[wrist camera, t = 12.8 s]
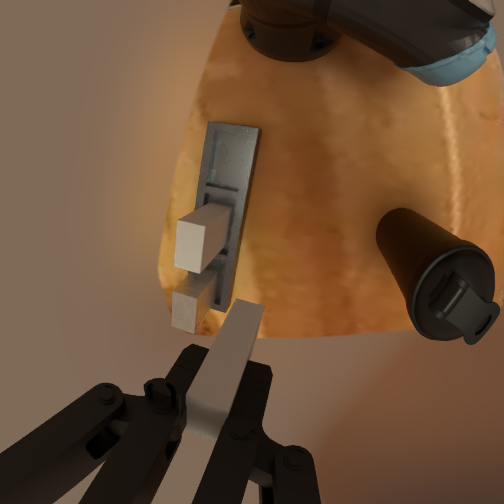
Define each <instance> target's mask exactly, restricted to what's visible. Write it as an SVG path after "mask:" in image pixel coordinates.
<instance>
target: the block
mask: <svg viewBox="0 0 504 504" xmlns="http://www.w3.org/2000/svg"><path fill="white" fill-rule="evenodd" d="M233 210H234V206H233V205H228V204H224V203H219V202H214V201H212V202H210V203H208V204H206V205H204V206H202V207H201V208H199V209H197V210H195V211H193V212H191V213H190V214H188V215H186V216H184V217H182V218H180V219H179V220H178V221H177V232H176V244H175V259H174V266H175V267H178V268H181V269H185V270H188V271H192V272H195V273H198V274H200V273H201V272H202V271H203V270H204V269H205V267H206V266H207V265H208V264H209V263H210V262H211V261H212V260H213V258H214V257H215V256H216V255H217V254H218V253H219V252H220V251H221V250H222V248H223V247H224V246H225V245H226V244H227V243H228V240H229V234H230V228H231V222H232V216H233Z"/></svg>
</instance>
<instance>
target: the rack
mask: <svg viewBox="0 0 504 504" xmlns="http://www.w3.org/2000/svg"><path fill="white" fill-rule="evenodd" d="M261 132H262V130H261V129H259V128H253V127H246V126H240V125H233V124H225V123H217V122H208V126H207V131H206V137H205V143H204V149H203V156H202V162H201V169H200V175H199V183H198V190H197V197H196V205H195V209H194V211H195V210H197V209H199V208H201V207H202V206H204V205H206V204H208V203H210V202H212V201H214V202H219V203H224V204H228V205H233V206H234V210H233V216H232V222H231V228H230V234H229V240H228V243H227V244H226V245H225V246H224V247H223V248H222V250H221V251H220V252H219V253H218V254H217V255H216V256H215V257H214V258H213V260H212V261H211V262H210V263H209V264H208V265H207V266H206V267H205V269H204V270H203V271H202V272H201V273H200V274H198V273H195V272H192V271H189V272H188V275H187V277H186V278H185V279H184V280H183V281H182V282H181V283H180V284H179V285H178V286H177V287H176V288H175V289H174V290H173V296H172V326H173V327H176V328H179V329H181V330H184V331H187V332H190V333H193V334H195V332H196V330H197V329H198V327H199V326H200V324H201V323H202V321H203V319H204V318H205V316H206V315H207V313H208V312H209V310H210V308H211V309H214V310H218V311H221V312H224V313H226V312H227V310H228V308H229V306H230V302H231V297H232V291H233V285H234V279H235V273H236V268H237V262H238V256H239V251H240V245H241V240H242V234H243V228H244V223H245V217H246V212H247V207H248V201H249V196H250V190H251V185H252V180H253V174H254V169H255V164H256V158H257V153H258V148H259V143H260V138H261Z"/></svg>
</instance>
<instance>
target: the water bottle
mask: <svg viewBox="0 0 504 504" xmlns="http://www.w3.org/2000/svg"><path fill="white" fill-rule="evenodd" d="M376 241H377V245H378V247H379V249H380V251H381V253H382V255H383V256H384V258H385V260H386V262H387V264H388V266H389V268H390V270H391V272H392V274H393V275H394V277H395V279H396V281H397V283H398V285H399V288H400V290H401V292H402V294H403V296H404V298H405V300H406V307H407V311H408V314H409V317H410V319H411V321H412V323H413V325H414V327H415V328H416V330H417V331H418V332H419V333H420V334H421V335H422V336H424V337H426V338H428V339H431V340H439V341H451V340H455V339H458V338H460V337H462V336H463V337H464V340H465V342H466V343H467V344H469V345H473V344H476V343H477V342H478V341H479V340H480V339H481V338H482V337H483V336H484V335H485V333H486V332H487V331H488V330H489V328H490V327H491V326H492V325H493V323H494V322H495V320H496V319H497V317H498V315H499V313H500V307H499V305H498V304H497V303H495V302H492V301H493V297H494V291H495V272H494V267H493V264H492V262H491V260H490V258H489V256H488V255H487V254H486V253H485V252H484V251H483V250H482V249H480V248H479V247H478V246H476V245H475V244H473V243H472V242H469V241H466V240H461V239H460V238H458V237H457V236H455V235H453V234H452V233H450V232H448V231H447V230H445V229H444V228H442V227H440V226H439V225H437V224H435V223H433V222H432V221H430V220H428V219H426V218H425V217H423V216H421V215H419V214H418V213H416V212H414V211H412V210H410V209H407V208H397V209H394V210H392V211H390V212H388V213H387V214H386V215H385V216H384V217H383V218H382V219H381V221H380V223H379V225H378V227H377V232H376Z"/></svg>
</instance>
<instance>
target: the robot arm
mask: <svg viewBox="0 0 504 504" xmlns="http://www.w3.org/2000/svg"><path fill="white" fill-rule="evenodd" d="M239 2H240V4H241V5H242V9H241V16H240V23H241V28H242V31H243V33H244V35H245V36H246V38H247V40H248V41H249V43H250V44H251V45H252V46H253V47H254V48H255V49H256V50H258V51H259V52H260V53H262V54H264V55H266V56H268V57H270V58H273V59H276V60H280V61H286V62H304V61H309V60H313V59H316V58H319V57H321V56H323V55H325V54H327V53H328V52H329V51H331V50H332V49H333V48H334V47H335V46H336V44H337V43H338V41H339V40H340V37H341V34H344V35H346V36H348V37H350V38H352V39H354V40H356V41H358V42H360V43H361V44H363V45H365V46H367V47H369V48H371V49H372V50H374V51H376V52H378V53H379V54H381V55H383V56H384V57H386V58H388V59H389V60H391V61H392V62H394V64H395V65H396V66H397V67H398V68H400V69H402V70H405V71H408V72H409V73H411V74H412V75H414V76H415V77H417V78H418V79H420V80H421V81H423V82H424V83H426V84H428V85H433V86H437V87H444V86H449V85H452V84H455V83H458V82H460V81H462V80H463V79H465V78H467V77H468V76H470V75H471V74H472V73H474V72H475V71H476V70H477V69H478V68H480V67H481V66H482V65H483V64H484V62H485V61H486V56H487V55H488V54H490V53H492V51H493V49H494V47H495V44H496V38H497V37H496V31H495V29H494V28H493V26H492V24H491V22H490V20H491V19H492V18H493V17H494V16H495V14H496V10H495V7H494V3H493V0H239ZM264 307H265V306H262V305H258V304H255V303H251V302H247V301H244V300H240V299H236V300H235V302H234V304H233V306H232V308H231V310H230V311H229V313H228V315H227V317H226V319H225V321H224V323H223V325H222V327H221V329H220V331H219V333H218V335H217V336H216V338H215V340H214V342H213V344H212V346H211V348H210V349H207V348H204V347H201V346H198V345H195V344H191V345H189V346H188V347H187V348H185V349H184V350H183V351H182V353H181V354H180V356H179V357H178V359H177V361H176V362H175V364H174V365H173V367H172V368H171V370H170V371H169V373H168V375H167V376H166V378H165V379H164V378H154V379H152V380H149V381H147V382H146V383H145V384H144V391H145V396H135V395H129V394H124V393H122V391H121V390H120V388H119V387H118V386H116V385H114V384H111V383H100V384H98V385H96V386H94V387H93V388H92V389H90V390H89V391H88V392H86V393H85V394H84V395H82V396H81V397H79V398H78V399H77V400H75V401H74V402H72V403H71V404H70V405H68V406H67V407H65V408H64V409H63V410H61V411H60V412H58V413H57V414H56V415H54V416H53V417H52V418H50V419H49V420H47V421H46V422H45V423H43V424H42V425H40V426H39V427H38V428H36V429H35V430H33V431H32V432H30V433H29V434H28V435H26V436H25V437H23V438H22V439H21V440H19V441H18V442H16V443H15V444H13V445H12V446H10V447H9V448H7V449H6V450H5V451H3V452H2V453H0V504H53V503H54V502H55V501H57V500H58V499H59V498H61V497H62V496H63V495H64V494H66V493H67V492H68V491H69V490H70V489H72V488H73V487H74V486H76V485H77V484H78V483H79V482H80V481H82V480H83V479H84V478H85V477H86V476H88V475H89V474H90V473H91V472H92V471H93V470H95V469H96V468H97V467H98V466H99V465H100V464H102V463H103V462H104V461H105V460H106V461H105V462H104V464H103V466H102V467H101V469H100V470H99V472H98V473H97V475H96V477H95V478H94V480H93V481H92V483H91V485H90V486H89V488H88V489H87V491H86V492H85V494H84V496H83V497H82V499H81V500H80V502H79V504H151V502H152V500H153V498H154V496H155V494H156V492H157V490H158V488H159V486H160V484H161V482H162V480H163V478H164V476H165V474H166V471H167V469H168V467H169V465H170V463H171V461H172V459H173V457H174V455H175V453H176V451H177V449H178V447H179V444H180V442H181V438H182V433H183V431H184V429H185V426H186V431H188V432H191V433H194V434H197V435H200V436H203V437H206V438H209V439H212V440H215V441H216V444H215V446H214V449H213V451H212V454H211V457H210V459H209V462H208V464H207V467H206V469H205V472H204V474H203V477H202V480H201V482H200V484H199V487H198V489H197V492H196V494H195V497H194V499H193V501H192V504H241V503H242V500H243V496H244V493H245V489H246V485H247V483H248V479H249V480H251V481H253V482H255V483H257V484H258V485H259V501H260V503H259V504H321V500H320V495H319V489H318V483H317V477H316V471H315V465H314V460H313V457H312V455H311V453H309V451H308V450H307V449H305V448H303V447H300V446H295V445H291V446H285V447H284V446H282V445H280V444H278V443H276V442H275V441H273V440H271V439H270V438H269V437H268V436H267V435H266V434H265V432H264V430H263V427H262V420H263V416H264V411H265V407H266V403H267V399H268V395H269V390H270V386H271V382H272V377H273V374H272V371H271V367H270V366H268V365H265V364H261V363H257V362H253V361H250V357H251V354H252V351H253V348H254V345H255V342H256V338H257V334H258V330H259V326H260V322H261V318H262V315H263V311H264Z"/></svg>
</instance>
